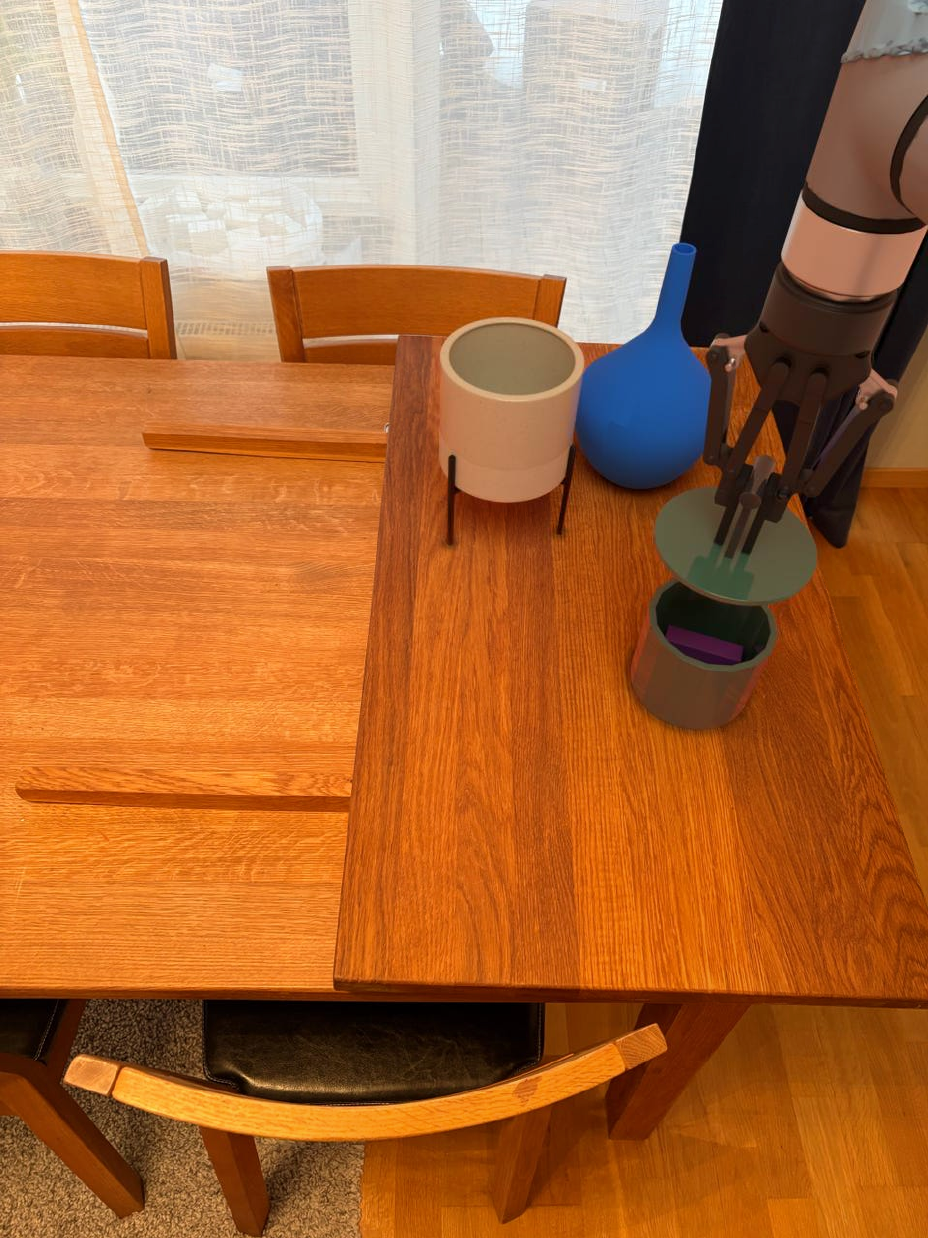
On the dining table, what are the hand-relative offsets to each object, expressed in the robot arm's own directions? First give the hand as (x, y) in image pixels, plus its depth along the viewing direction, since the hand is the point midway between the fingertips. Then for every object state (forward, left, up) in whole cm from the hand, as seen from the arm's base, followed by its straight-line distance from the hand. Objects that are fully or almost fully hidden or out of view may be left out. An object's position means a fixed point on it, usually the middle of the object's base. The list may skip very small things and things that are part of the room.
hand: (736, 537), depth 72 cm
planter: (+28, -17, -24) cm, 41 cm away
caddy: (-1, -3, -24) cm, 24 cm away
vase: (+16, -34, -24) cm, 45 cm away
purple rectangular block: (-1, -4, -22) cm, 22 cm away
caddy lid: (0, 0, -1) cm, 1 cm away
